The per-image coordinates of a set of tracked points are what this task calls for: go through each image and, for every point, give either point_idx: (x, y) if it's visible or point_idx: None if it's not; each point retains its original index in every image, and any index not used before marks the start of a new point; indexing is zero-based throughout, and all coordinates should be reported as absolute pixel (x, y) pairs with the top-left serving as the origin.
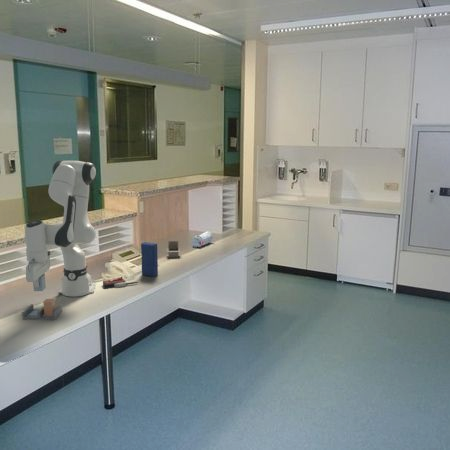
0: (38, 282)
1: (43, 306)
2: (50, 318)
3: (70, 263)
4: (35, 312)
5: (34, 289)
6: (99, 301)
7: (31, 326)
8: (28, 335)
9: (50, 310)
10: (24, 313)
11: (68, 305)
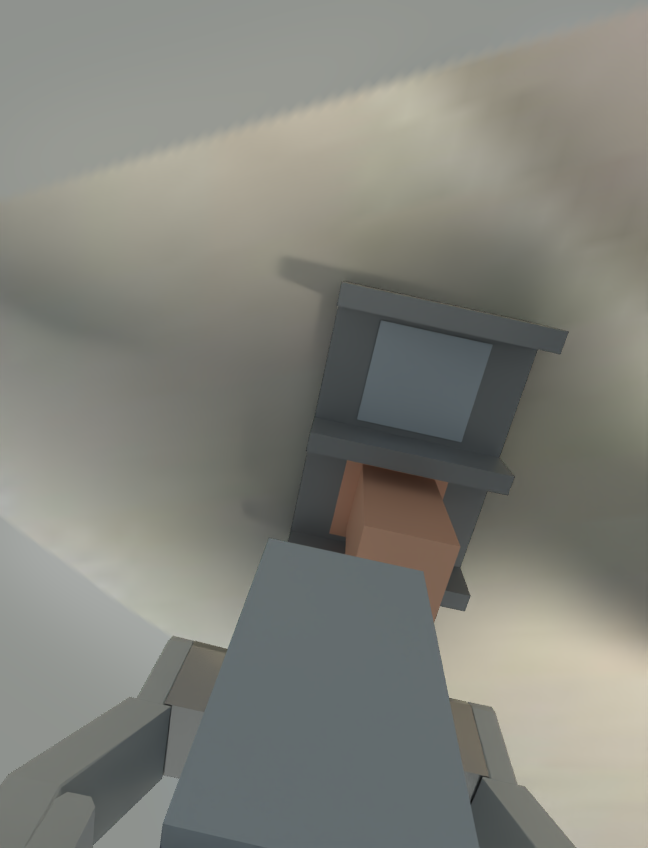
0: (123, 799)
1: (462, 466)
2: (295, 511)
3: None
4: (439, 381)
5: (258, 566)
6: (586, 785)
7: (178, 385)
8: (14, 392)
9: (348, 534)
10: (338, 305)
11: (579, 604)
